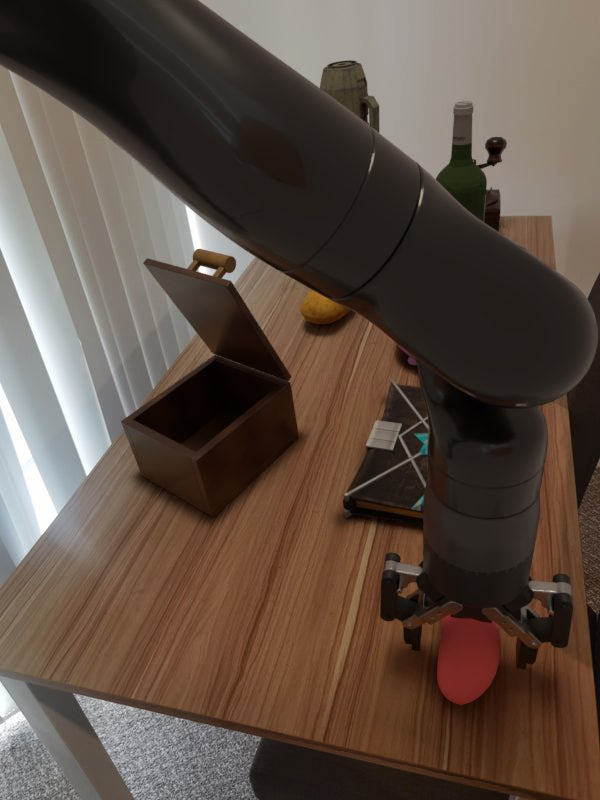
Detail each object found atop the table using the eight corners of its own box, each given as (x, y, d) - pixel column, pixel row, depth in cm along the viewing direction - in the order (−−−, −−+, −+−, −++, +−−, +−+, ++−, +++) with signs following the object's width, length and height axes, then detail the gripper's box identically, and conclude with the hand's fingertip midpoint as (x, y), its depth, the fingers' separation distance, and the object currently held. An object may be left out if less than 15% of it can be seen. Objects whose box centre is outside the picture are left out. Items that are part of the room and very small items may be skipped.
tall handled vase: (376, 282, 110) (366, 67, 89) (318, 275, 115) (296, 70, 94) (393, 261, 116) (388, 56, 95) (338, 255, 121) (321, 59, 100)
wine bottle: (422, 291, 105) (423, 105, 87) (457, 276, 108) (465, 94, 90) (454, 307, 99) (461, 112, 81) (489, 292, 102) (504, 99, 84)
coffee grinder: (501, 258, 111) (510, 158, 101) (440, 258, 114) (442, 161, 103) (499, 225, 123) (507, 132, 112) (444, 226, 126) (447, 136, 115)
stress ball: (517, 647, 54) (501, 583, 53) (499, 718, 46) (481, 644, 45) (460, 644, 56) (444, 583, 56) (434, 711, 49) (415, 641, 48)
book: (390, 400, 82) (389, 370, 79) (520, 416, 76) (524, 385, 73) (343, 518, 66) (339, 486, 63) (502, 550, 60) (507, 517, 57)
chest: (213, 517, 69) (196, 460, 63) (141, 475, 76) (120, 421, 70) (299, 438, 78) (290, 382, 72) (228, 407, 85) (215, 354, 80)
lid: (226, 286, 59) (254, 250, 60) (142, 263, 66) (169, 230, 68) (288, 381, 72) (309, 349, 74) (212, 353, 79) (233, 325, 81)
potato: (368, 299, 105) (366, 263, 101) (335, 340, 96) (331, 302, 92) (329, 294, 108) (325, 259, 104) (293, 332, 99) (287, 295, 95)
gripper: (367, 555, 40) (378, 677, 50) (598, 584, 37) (561, 710, 46) (383, 476, 46) (389, 600, 56) (584, 494, 42) (554, 623, 52)
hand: (467, 650), depth 51 cm, fingers open, 8 cm apart
